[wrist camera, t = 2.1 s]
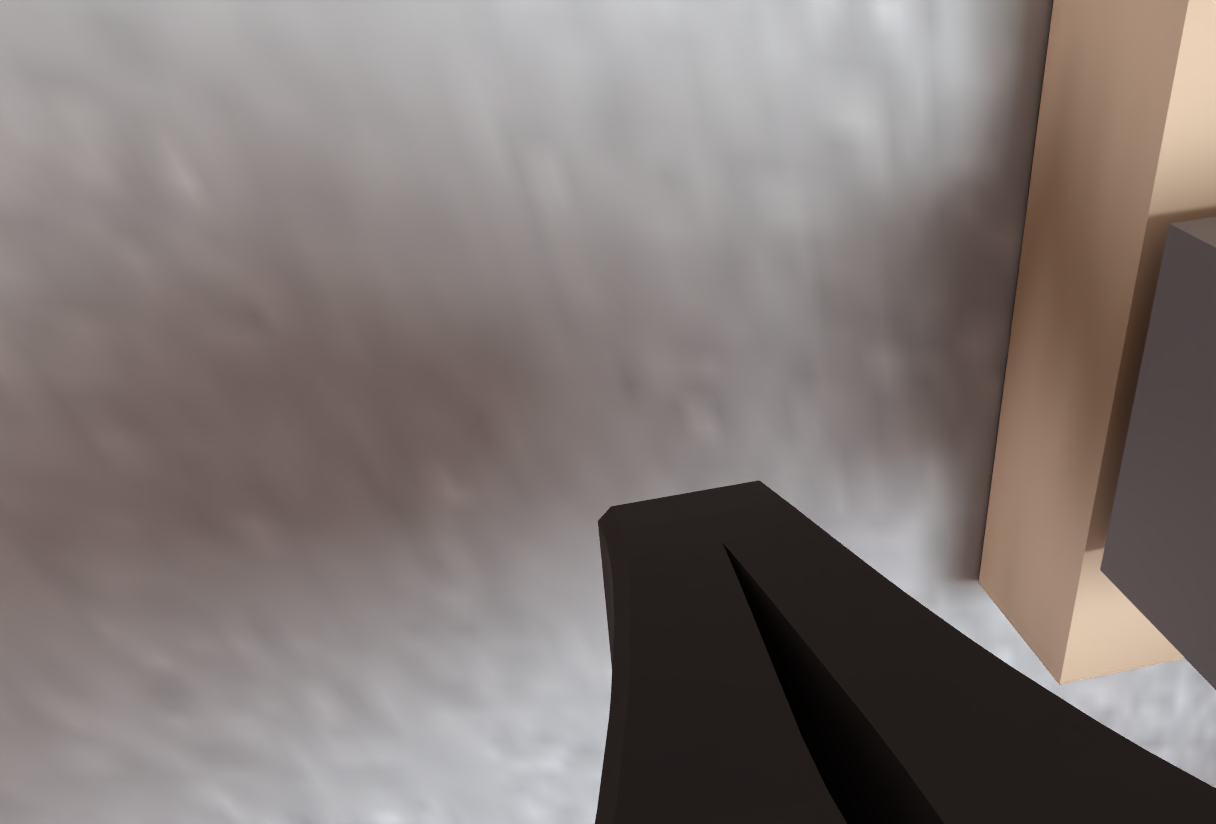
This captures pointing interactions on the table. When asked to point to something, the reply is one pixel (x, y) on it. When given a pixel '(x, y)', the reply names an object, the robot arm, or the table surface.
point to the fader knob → (1173, 457)
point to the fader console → (1093, 314)
